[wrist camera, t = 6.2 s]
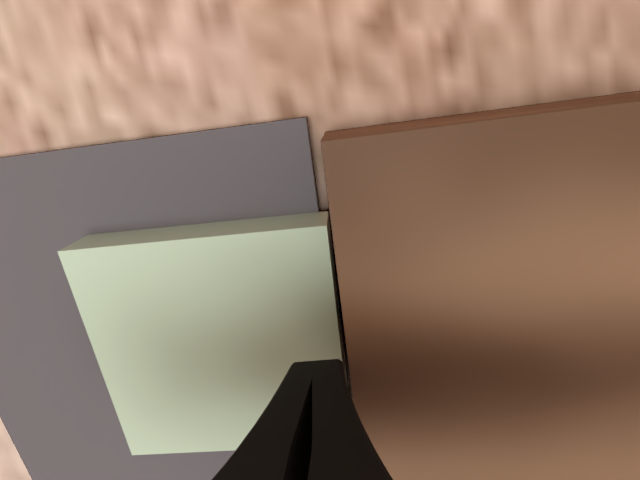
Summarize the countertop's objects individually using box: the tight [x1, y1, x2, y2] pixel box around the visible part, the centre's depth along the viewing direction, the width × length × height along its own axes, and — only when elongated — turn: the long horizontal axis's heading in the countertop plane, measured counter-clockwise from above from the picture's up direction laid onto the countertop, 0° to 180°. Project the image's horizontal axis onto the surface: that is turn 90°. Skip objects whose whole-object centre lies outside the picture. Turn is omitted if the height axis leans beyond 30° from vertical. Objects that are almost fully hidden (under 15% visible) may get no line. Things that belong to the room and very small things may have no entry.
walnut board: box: [321, 91, 640, 480], centre depth 12 cm, size 15×14×3 cm
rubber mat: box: [0, 117, 320, 480], centre depth 15 cm, size 16×14×1 cm
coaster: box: [57, 211, 348, 455], centre depth 13 cm, size 8×8×2 cm
